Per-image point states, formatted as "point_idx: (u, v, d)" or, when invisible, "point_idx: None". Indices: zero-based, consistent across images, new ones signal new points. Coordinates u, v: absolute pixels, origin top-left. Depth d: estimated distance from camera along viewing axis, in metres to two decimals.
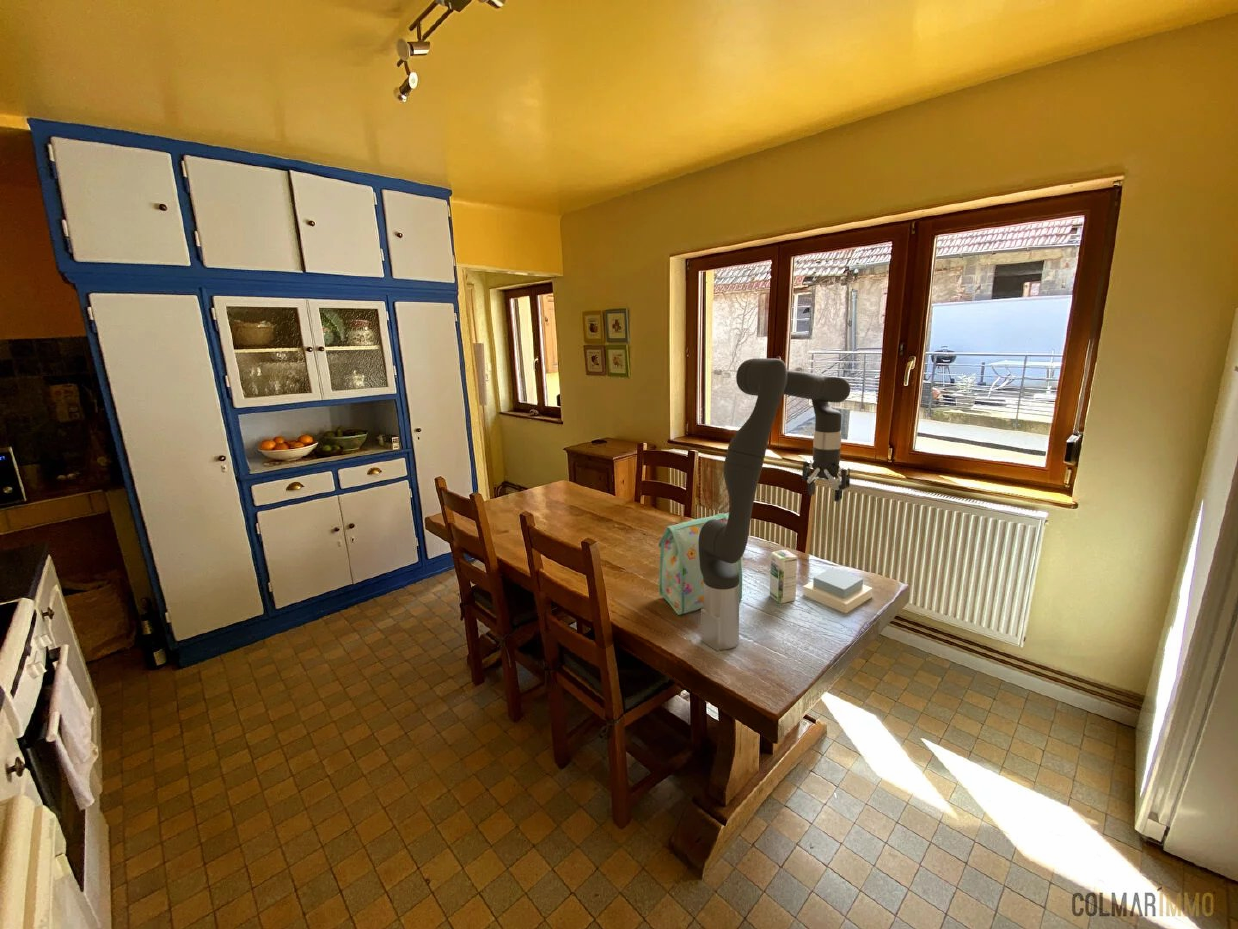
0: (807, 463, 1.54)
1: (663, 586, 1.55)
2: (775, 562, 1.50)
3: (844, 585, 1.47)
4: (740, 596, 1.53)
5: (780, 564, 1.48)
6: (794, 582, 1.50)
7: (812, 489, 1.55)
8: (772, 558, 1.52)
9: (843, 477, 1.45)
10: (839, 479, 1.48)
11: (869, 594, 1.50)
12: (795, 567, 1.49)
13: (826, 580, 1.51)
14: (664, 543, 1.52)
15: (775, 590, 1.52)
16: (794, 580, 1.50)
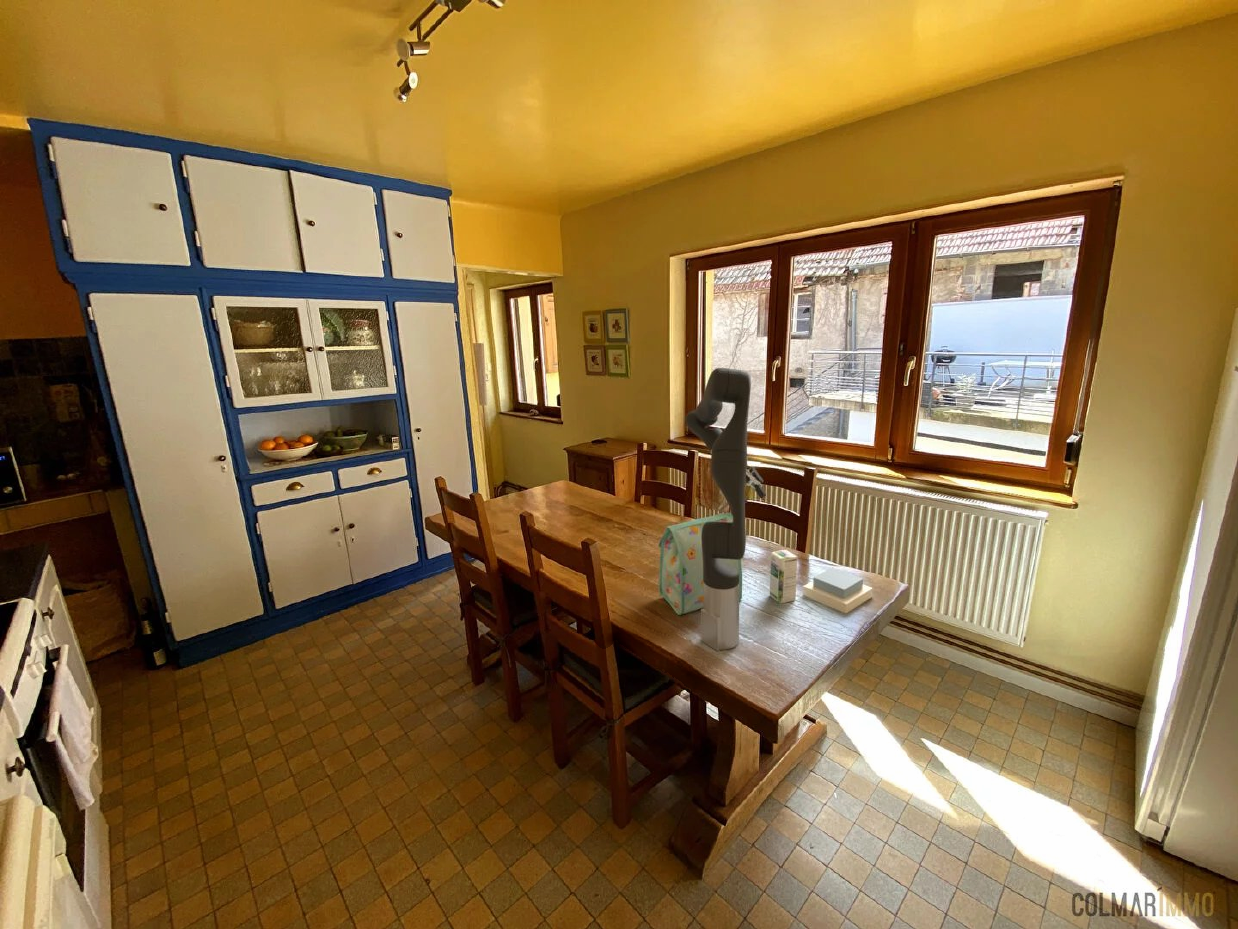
0: None
1: (663, 586, 1.55)
2: (775, 562, 1.50)
3: (844, 585, 1.47)
4: (740, 596, 1.53)
5: (780, 564, 1.48)
6: (794, 582, 1.50)
7: None
8: (772, 558, 1.52)
9: (756, 472, 1.62)
10: None
11: (869, 594, 1.50)
12: (795, 567, 1.49)
13: (826, 580, 1.51)
14: (664, 543, 1.52)
15: (775, 590, 1.52)
16: (794, 580, 1.50)
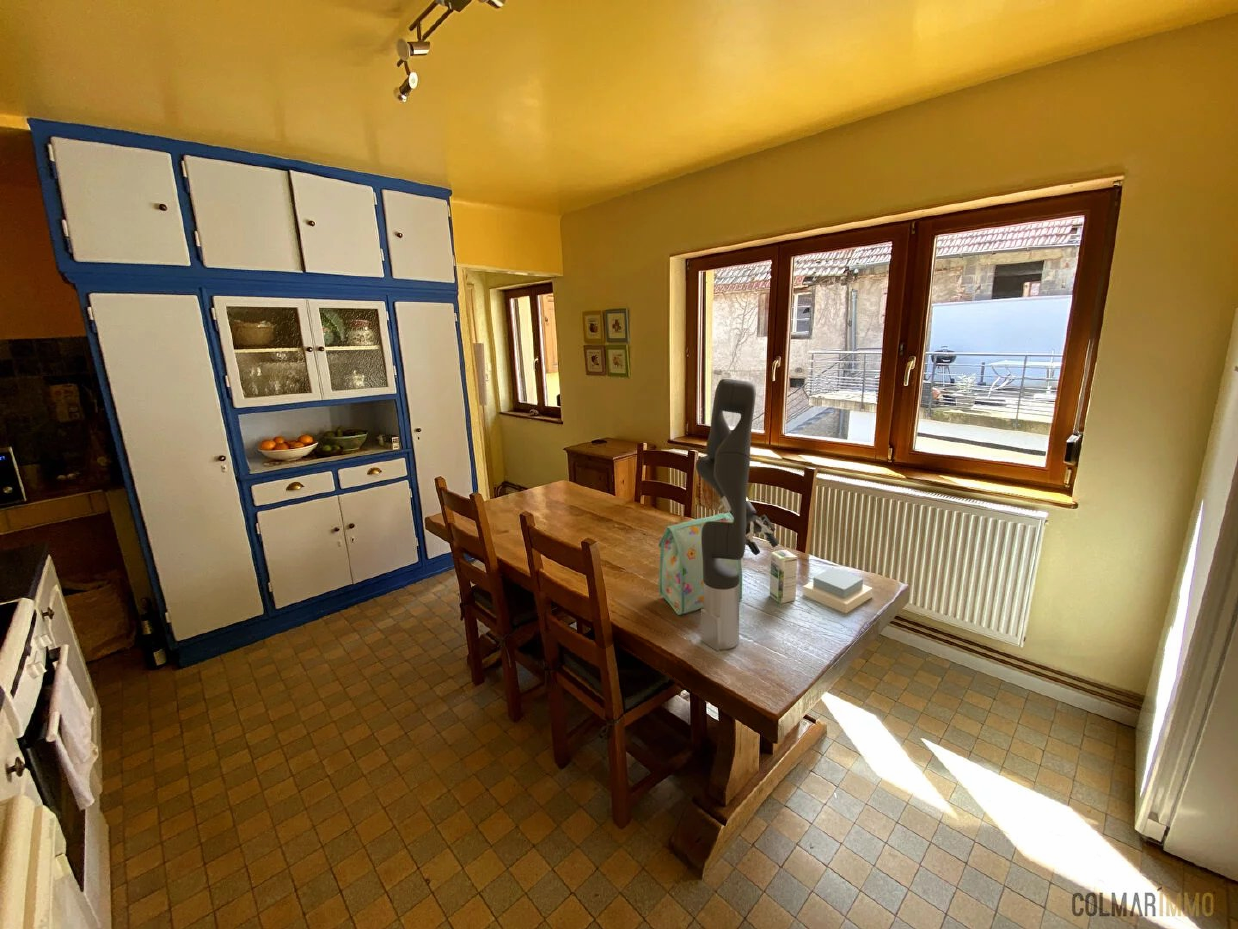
0: None
1: (663, 586, 1.55)
2: (775, 562, 1.50)
3: (844, 585, 1.47)
4: (740, 596, 1.53)
5: (780, 564, 1.48)
6: (794, 582, 1.50)
7: None
8: (772, 558, 1.52)
9: (768, 520, 1.61)
10: None
11: (869, 594, 1.50)
12: (795, 567, 1.49)
13: (826, 580, 1.51)
14: (664, 543, 1.52)
15: (775, 590, 1.52)
16: (794, 580, 1.50)
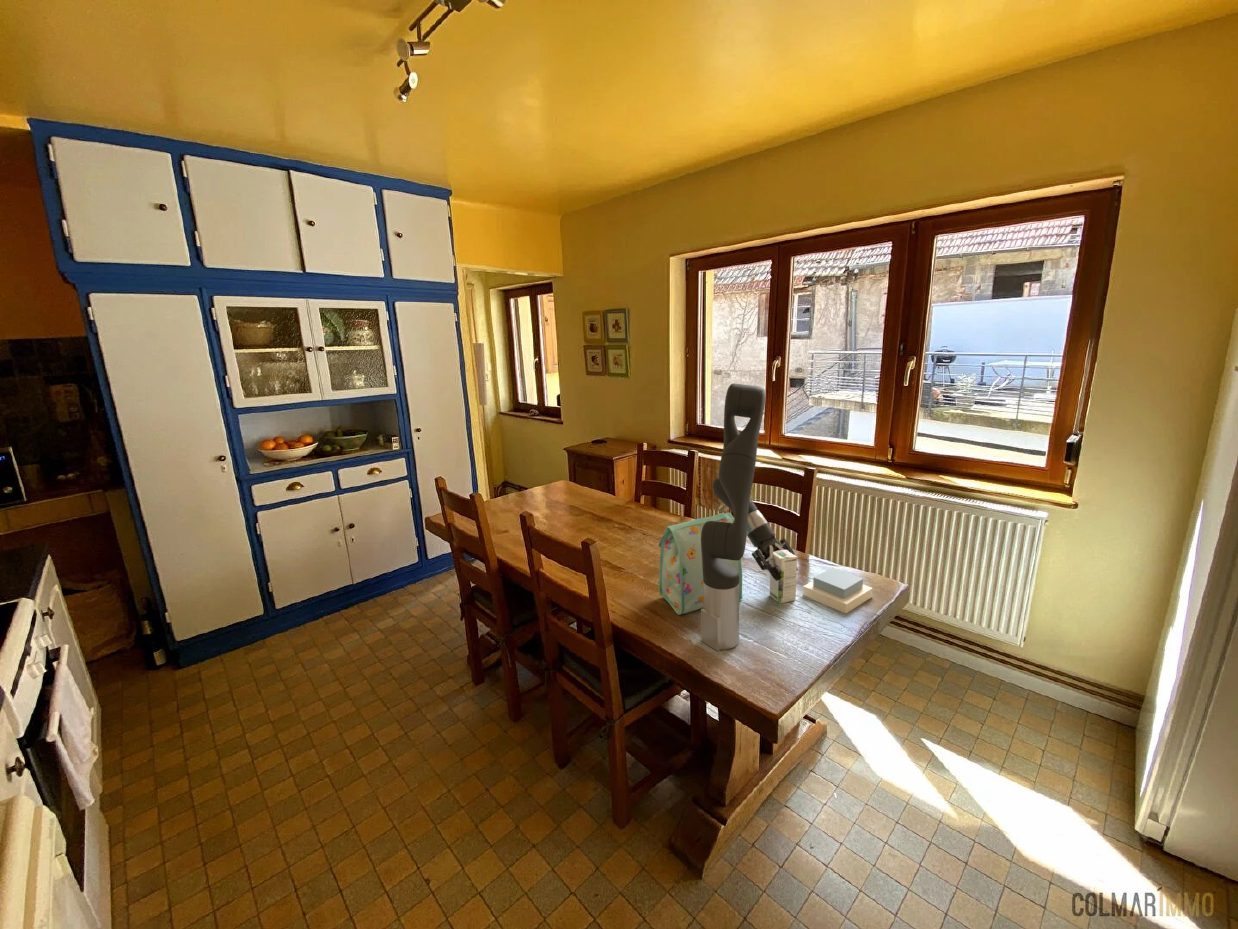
0: None
1: (663, 586, 1.55)
2: (775, 562, 1.50)
3: (844, 585, 1.47)
4: (740, 596, 1.53)
5: (780, 564, 1.48)
6: (794, 582, 1.50)
7: None
8: None
9: (787, 544, 1.56)
10: None
11: (869, 594, 1.50)
12: (795, 567, 1.49)
13: (826, 580, 1.51)
14: (664, 543, 1.52)
15: (775, 590, 1.52)
16: (794, 580, 1.50)
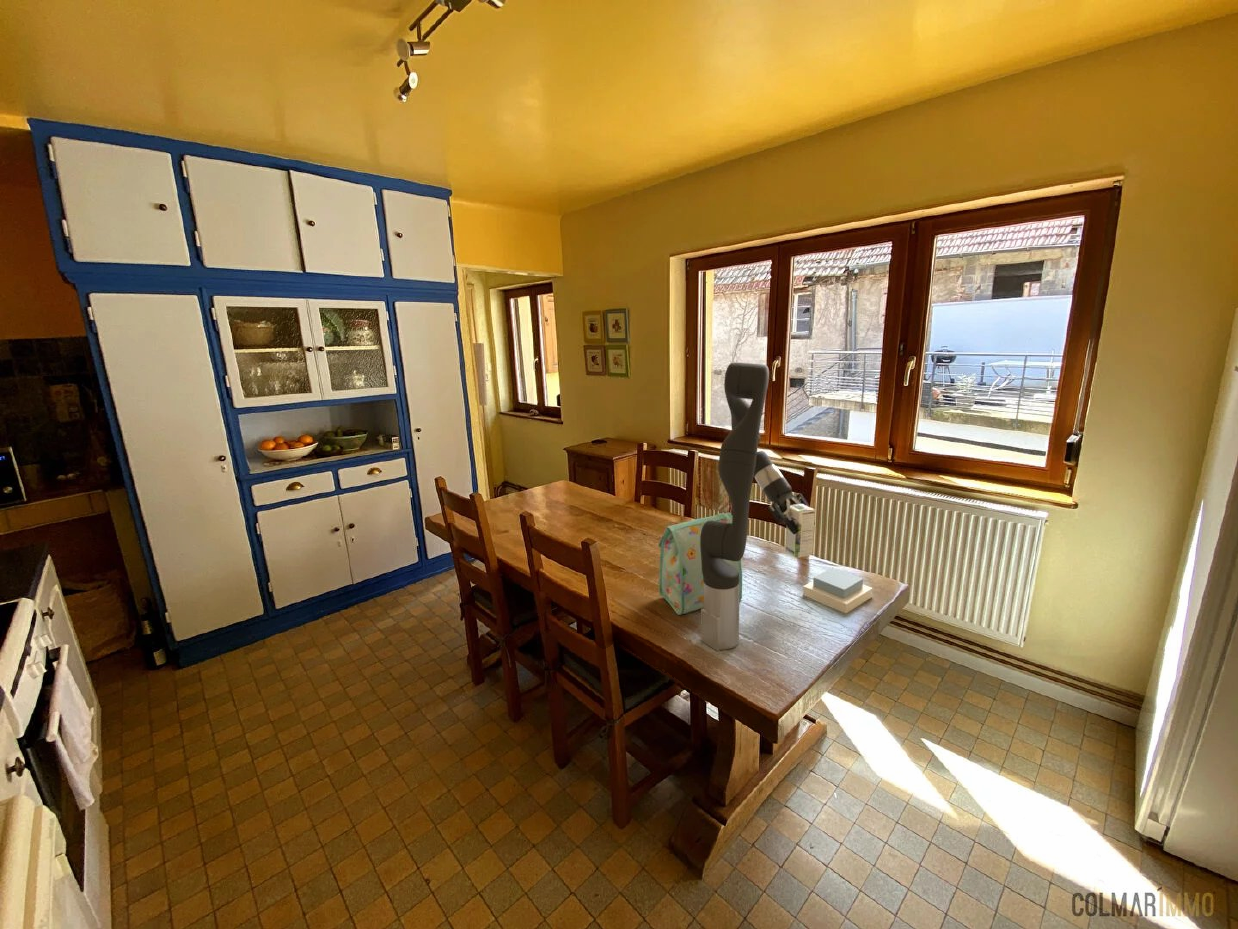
0: None
1: (663, 586, 1.55)
2: (792, 516, 1.47)
3: (844, 585, 1.47)
4: (740, 596, 1.53)
5: (797, 517, 1.45)
6: (811, 536, 1.47)
7: None
8: None
9: (803, 499, 1.53)
10: None
11: (869, 594, 1.50)
12: (812, 520, 1.46)
13: (826, 580, 1.51)
14: (664, 543, 1.52)
15: (791, 544, 1.49)
16: (811, 534, 1.47)
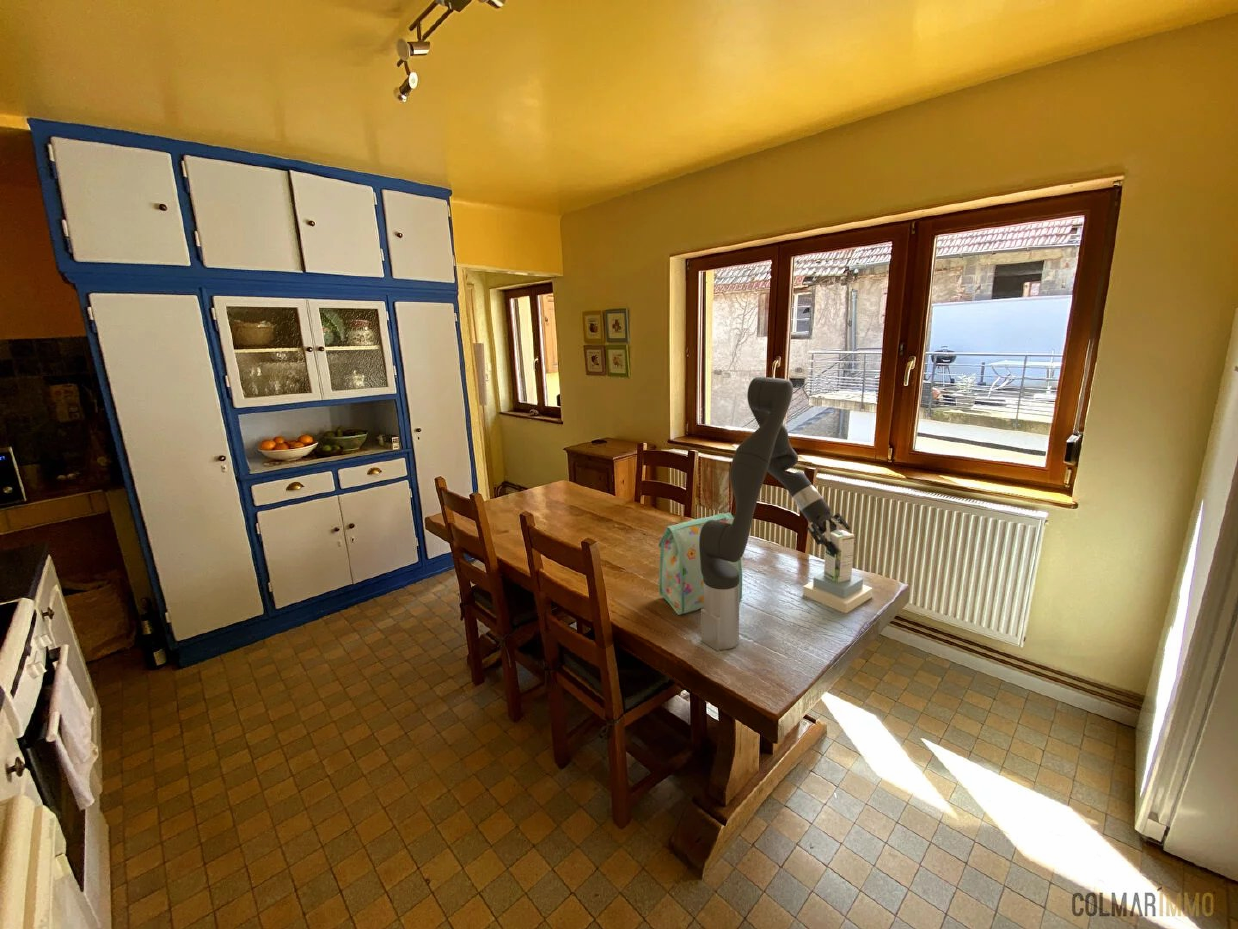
0: None
1: (663, 586, 1.55)
2: None
3: (844, 585, 1.47)
4: (740, 596, 1.53)
5: (837, 542, 1.46)
6: (851, 561, 1.49)
7: None
8: None
9: (842, 519, 1.54)
10: None
11: (869, 594, 1.50)
12: (852, 545, 1.47)
13: (826, 580, 1.51)
14: (664, 543, 1.52)
15: (830, 569, 1.50)
16: (851, 559, 1.48)
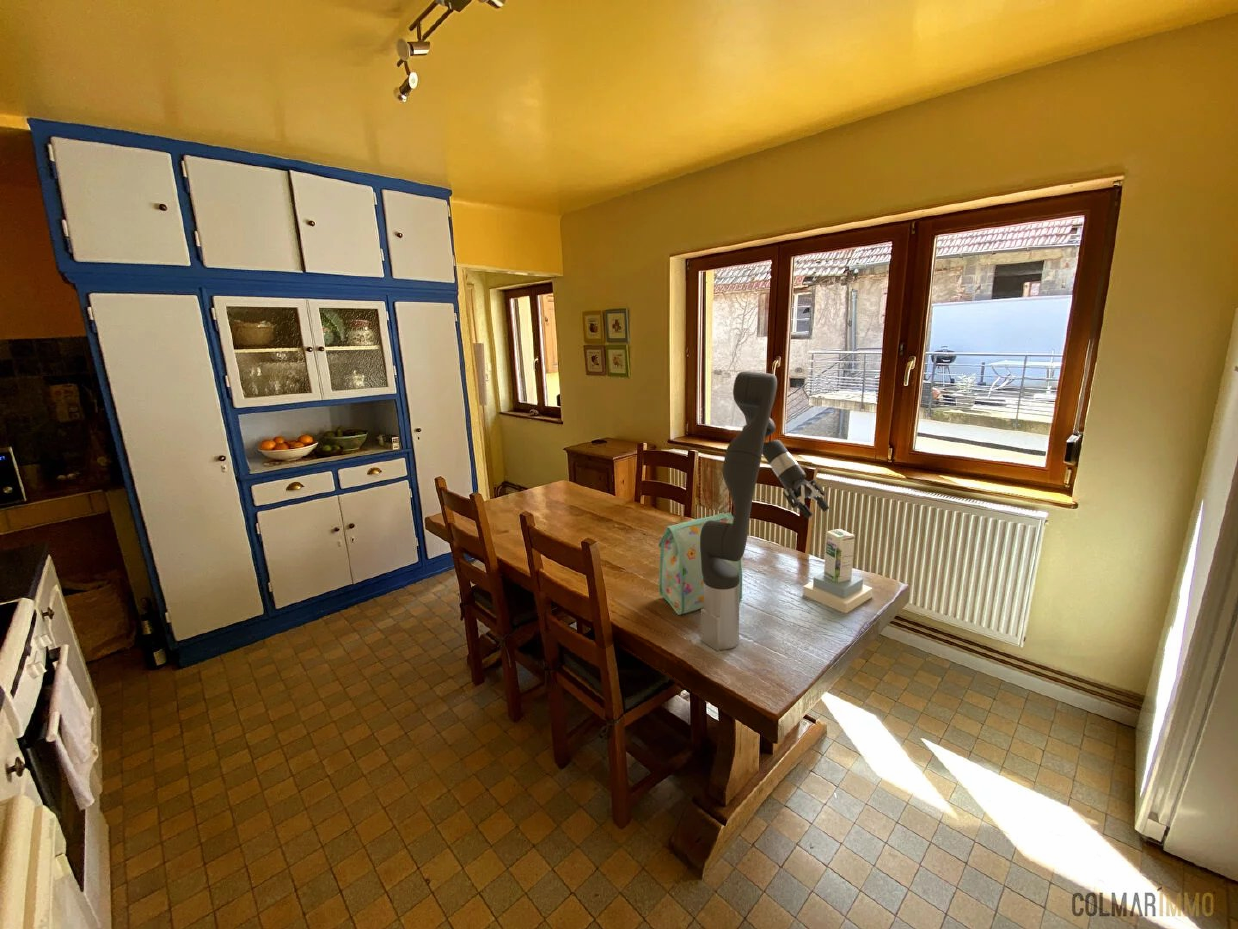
0: None
1: (663, 586, 1.55)
2: (832, 541, 1.48)
3: (844, 585, 1.47)
4: (740, 596, 1.53)
5: (838, 543, 1.46)
6: (851, 561, 1.49)
7: None
8: (828, 537, 1.50)
9: (817, 485, 1.59)
10: None
11: (869, 594, 1.50)
12: (852, 546, 1.47)
13: (826, 580, 1.51)
14: (664, 543, 1.52)
15: (830, 570, 1.50)
16: (851, 559, 1.48)
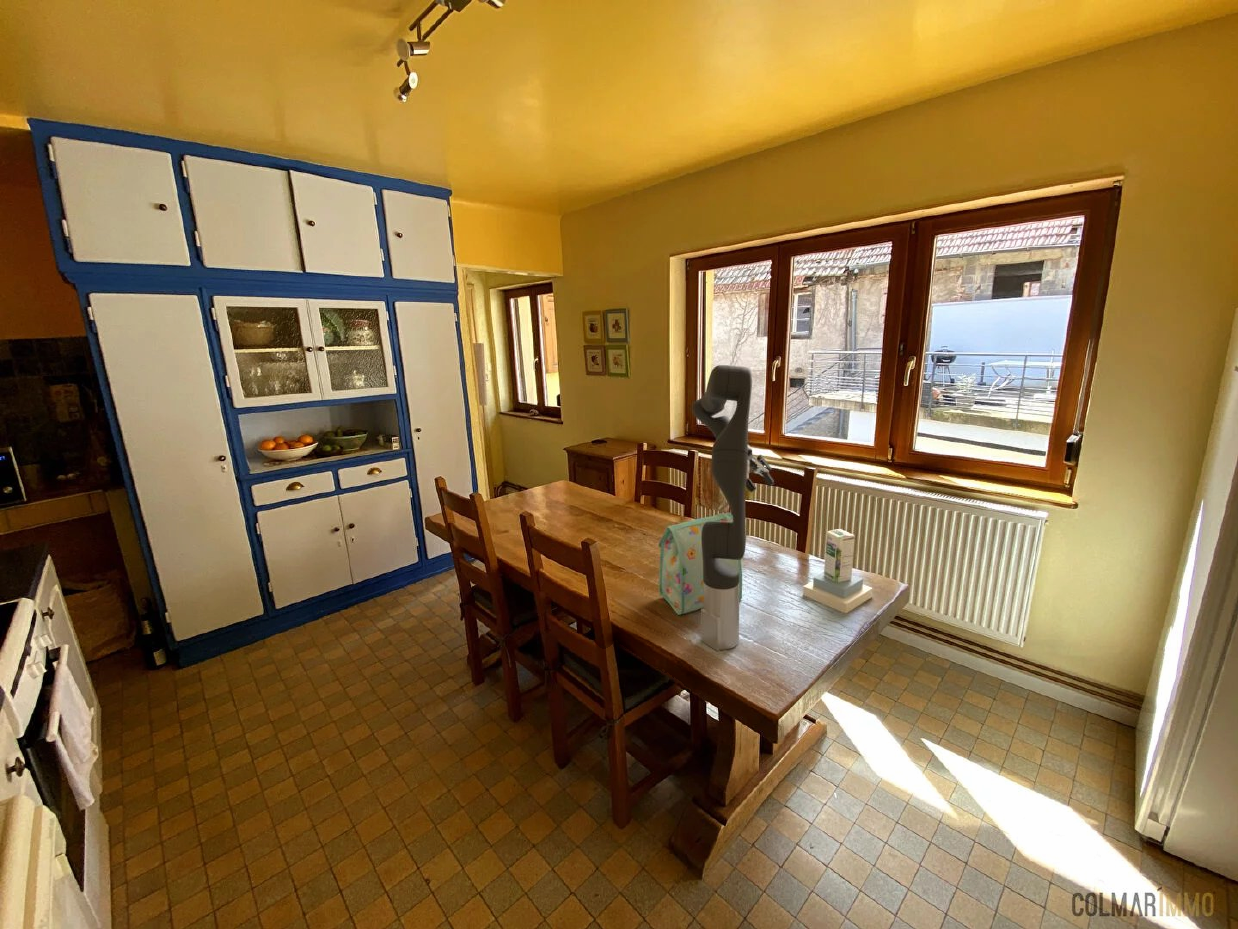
0: None
1: (663, 586, 1.55)
2: (831, 541, 1.48)
3: (844, 585, 1.47)
4: (740, 596, 1.53)
5: (838, 543, 1.46)
6: (851, 561, 1.49)
7: None
8: (828, 537, 1.50)
9: (764, 460, 1.60)
10: None
11: (869, 594, 1.50)
12: (852, 546, 1.47)
13: (826, 580, 1.51)
14: (664, 543, 1.52)
15: (830, 570, 1.50)
16: (851, 559, 1.48)
